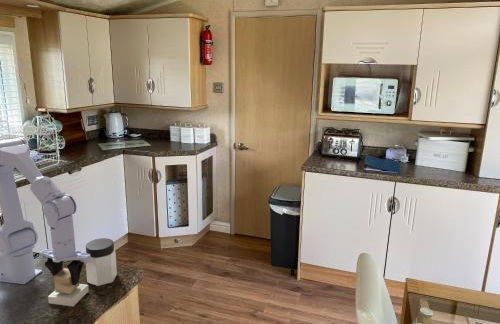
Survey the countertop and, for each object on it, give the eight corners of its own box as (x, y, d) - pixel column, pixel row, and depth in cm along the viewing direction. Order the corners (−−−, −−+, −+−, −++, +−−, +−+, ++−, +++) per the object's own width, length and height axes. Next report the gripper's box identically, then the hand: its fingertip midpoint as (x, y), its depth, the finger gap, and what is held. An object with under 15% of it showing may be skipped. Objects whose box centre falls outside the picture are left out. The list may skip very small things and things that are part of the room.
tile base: (48, 303, 105) (47, 296, 104) (65, 288, 112) (64, 281, 112) (73, 306, 104) (72, 299, 103) (88, 291, 111) (87, 284, 111)
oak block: (65, 283, 110) (63, 268, 108) (79, 285, 109) (78, 269, 108) (55, 292, 105) (53, 276, 104) (70, 293, 105) (68, 278, 103)
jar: (90, 289, 112) (86, 252, 109) (84, 276, 119) (81, 242, 116) (120, 280, 117) (118, 245, 114) (113, 269, 124) (111, 235, 121)
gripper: (29, 242, 101) (35, 287, 104) (78, 247, 99) (82, 293, 102) (47, 231, 108) (51, 274, 111) (93, 236, 106) (96, 279, 109)
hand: (67, 282), depth 107 cm, fingers closed on oak block, 4 cm apart
